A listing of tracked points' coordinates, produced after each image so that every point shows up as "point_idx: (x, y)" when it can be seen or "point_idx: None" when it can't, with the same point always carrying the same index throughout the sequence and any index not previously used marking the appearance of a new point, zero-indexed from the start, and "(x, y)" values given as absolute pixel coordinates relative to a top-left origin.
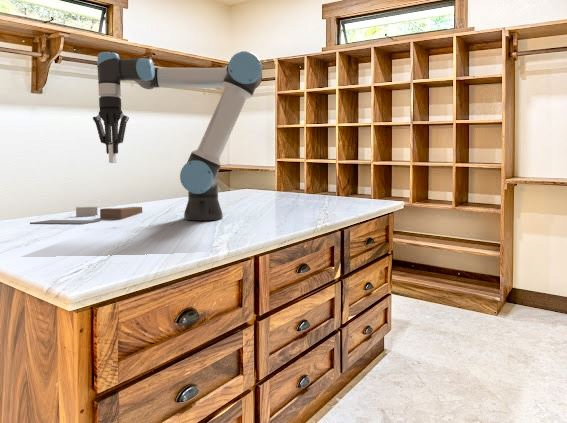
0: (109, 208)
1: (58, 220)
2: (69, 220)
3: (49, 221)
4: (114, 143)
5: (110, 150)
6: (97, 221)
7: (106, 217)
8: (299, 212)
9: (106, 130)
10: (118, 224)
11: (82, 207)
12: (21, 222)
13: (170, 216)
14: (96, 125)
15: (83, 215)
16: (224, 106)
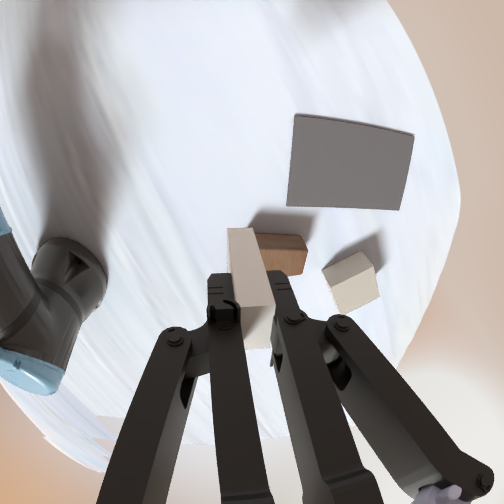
0: (289, 268)
1: (381, 195)
2: (359, 196)
3: (390, 167)
4: (210, 308)
5: (249, 272)
6: (288, 190)
7: (284, 236)
8: (52, 394)
9: (327, 423)
10: (194, 122)
11: (361, 273)
12: (435, 173)
13: None
14: (445, 435)
15: (351, 262)
16: None
